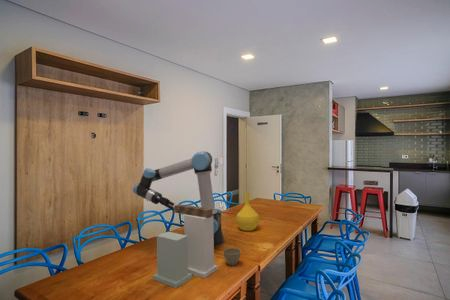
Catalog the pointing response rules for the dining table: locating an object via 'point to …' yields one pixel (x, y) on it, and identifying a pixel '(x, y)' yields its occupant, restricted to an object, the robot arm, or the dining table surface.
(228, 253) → the beige round bowl
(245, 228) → the vase
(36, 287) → the dining table surface
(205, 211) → the walnut beam
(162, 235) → the post
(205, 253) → the tall stand
